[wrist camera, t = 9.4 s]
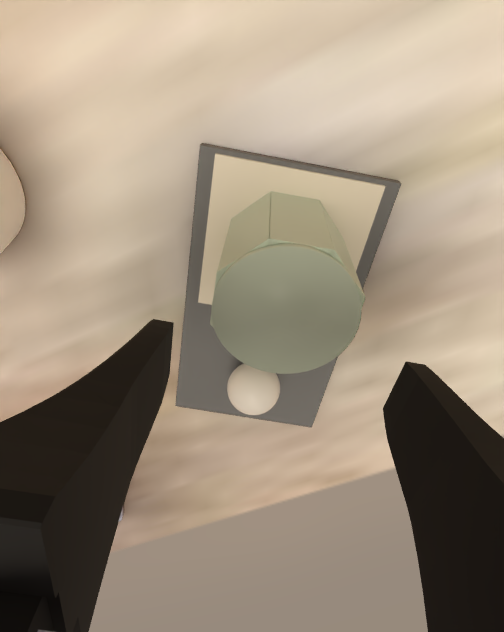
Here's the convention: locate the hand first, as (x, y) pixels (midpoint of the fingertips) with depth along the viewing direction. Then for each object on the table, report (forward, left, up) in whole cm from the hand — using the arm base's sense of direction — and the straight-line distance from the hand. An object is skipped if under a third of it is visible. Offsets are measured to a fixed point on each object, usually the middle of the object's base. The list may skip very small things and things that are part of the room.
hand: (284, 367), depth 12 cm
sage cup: (0, 0, -9) cm, 9 cm away
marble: (-8, 0, -7) cm, 11 cm away
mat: (-4, 0, -9) cm, 10 cm away
